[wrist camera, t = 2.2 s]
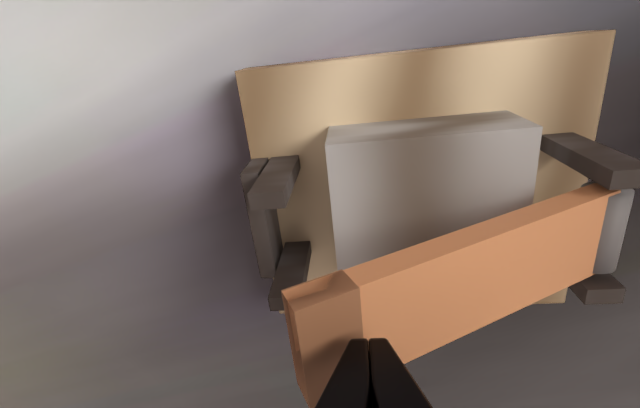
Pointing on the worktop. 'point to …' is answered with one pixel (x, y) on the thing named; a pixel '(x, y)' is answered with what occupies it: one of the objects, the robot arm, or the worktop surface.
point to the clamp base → (421, 89)
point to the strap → (454, 281)
